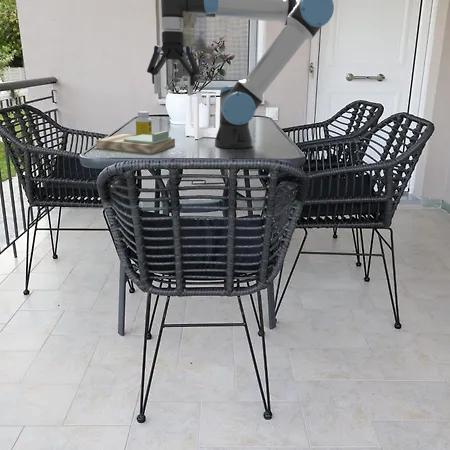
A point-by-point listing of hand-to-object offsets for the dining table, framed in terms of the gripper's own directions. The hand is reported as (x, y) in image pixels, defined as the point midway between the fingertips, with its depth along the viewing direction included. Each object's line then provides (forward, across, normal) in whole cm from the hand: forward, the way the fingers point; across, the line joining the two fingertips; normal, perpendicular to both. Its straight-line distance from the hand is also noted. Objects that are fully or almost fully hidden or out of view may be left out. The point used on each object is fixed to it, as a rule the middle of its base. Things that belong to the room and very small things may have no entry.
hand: (173, 94), depth 173 cm
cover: (+17, +11, 0) cm, 21 cm away
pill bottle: (+21, +22, -16) cm, 34 cm away
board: (+21, +16, 0) cm, 26 cm away
